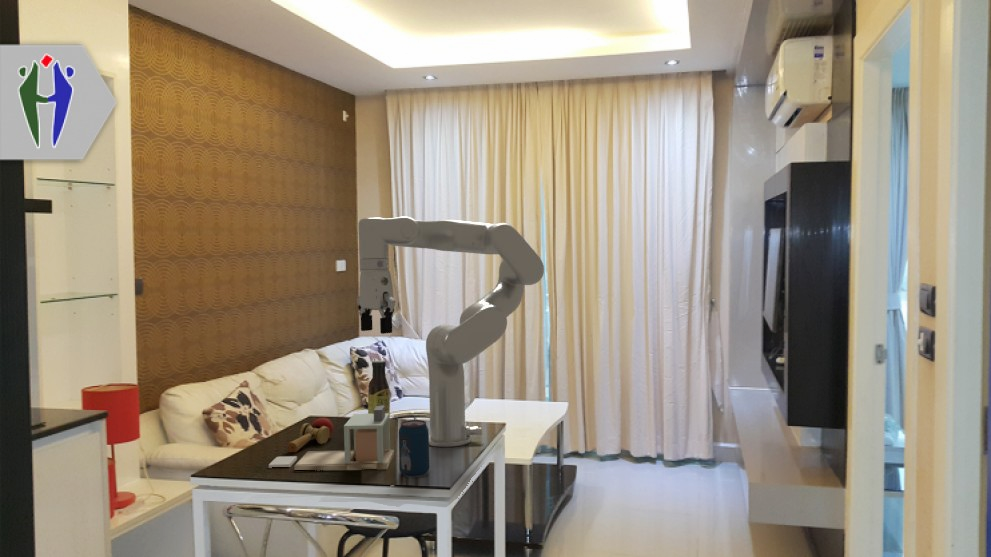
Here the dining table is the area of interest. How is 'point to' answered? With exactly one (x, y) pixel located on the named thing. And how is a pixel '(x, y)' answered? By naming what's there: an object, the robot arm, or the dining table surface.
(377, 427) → the pale green table stand
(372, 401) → the sauce bottle
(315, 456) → the puzzle board
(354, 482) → the dining table surface
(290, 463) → the ceramic trivet
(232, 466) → the dining table surface
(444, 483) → the dining table surface
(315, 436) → the kendama
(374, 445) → the block
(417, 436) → the soda can
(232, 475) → the dining table surface
